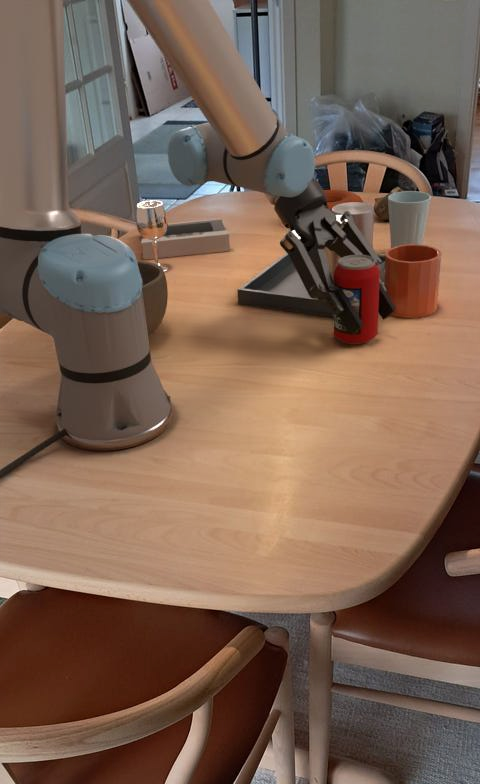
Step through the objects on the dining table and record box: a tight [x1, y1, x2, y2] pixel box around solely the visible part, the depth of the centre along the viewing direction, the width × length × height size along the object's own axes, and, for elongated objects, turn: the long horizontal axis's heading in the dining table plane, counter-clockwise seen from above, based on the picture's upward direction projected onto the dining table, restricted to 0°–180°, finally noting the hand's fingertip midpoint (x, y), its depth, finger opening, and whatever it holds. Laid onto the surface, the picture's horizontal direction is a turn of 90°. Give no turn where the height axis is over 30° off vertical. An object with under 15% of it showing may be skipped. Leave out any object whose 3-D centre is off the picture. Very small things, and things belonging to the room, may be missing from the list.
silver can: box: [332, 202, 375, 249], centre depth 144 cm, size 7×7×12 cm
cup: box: [388, 190, 432, 248], centre depth 154 cm, size 8×8×10 cm
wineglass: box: [135, 200, 170, 272], centre depth 155 cm, size 6×6×12 cm
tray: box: [236, 252, 385, 318], centre depth 145 cm, size 24×20×3 cm
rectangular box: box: [140, 218, 231, 261], centre depth 170 cm, size 17×5×16 cm
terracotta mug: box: [383, 244, 442, 319], centre depth 134 cm, size 12×9×9 cm
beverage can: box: [332, 255, 380, 345], centre depth 124 cm, size 7×7×12 cm
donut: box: [323, 189, 365, 211], centre depth 175 cm, size 15×15×5 cm
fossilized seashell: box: [373, 186, 405, 221], centre depth 174 cm, size 8×7×10 cm
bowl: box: [137, 260, 169, 338], centre depth 131 cm, size 17×18×10 cm
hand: (373, 322), depth 124 cm, fingers closed on beverage can, 7 cm apart
